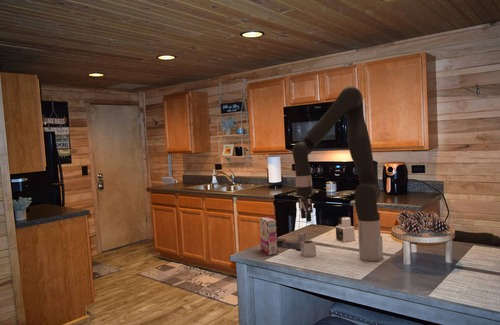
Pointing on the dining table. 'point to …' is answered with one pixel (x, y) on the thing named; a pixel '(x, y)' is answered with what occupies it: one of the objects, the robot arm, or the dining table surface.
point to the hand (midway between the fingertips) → (306, 219)
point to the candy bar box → (268, 235)
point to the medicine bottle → (345, 230)
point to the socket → (308, 248)
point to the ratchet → (292, 242)
